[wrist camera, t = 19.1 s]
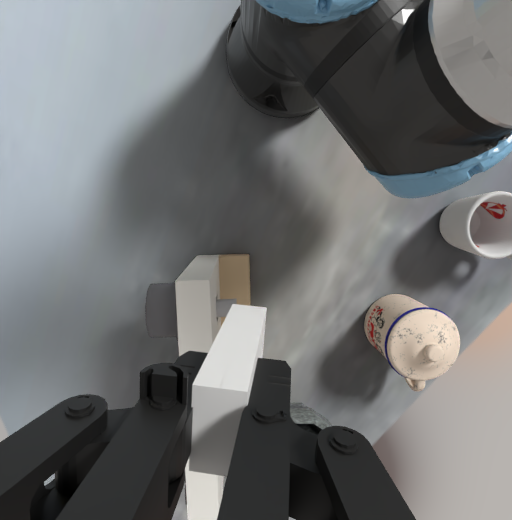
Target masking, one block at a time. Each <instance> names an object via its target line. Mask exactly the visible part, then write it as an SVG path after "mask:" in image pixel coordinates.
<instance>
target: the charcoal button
mask: <svg viewBox="0 0 512 520" xmlns="http://www.w3.org/2000/svg"><path fill="white" fill-rule="evenodd" d="M232 304H237V299H216V315H217V317H226V316H227V314H228V312H229V310H230V308H231V306H232ZM176 320H177V308H176V289H175V283H162V284H150V286H149V288H148V291H147V297H146V325H147V330H148V334H149V336H150V337H151V338H154V337H177V332H176Z"/></svg>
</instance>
